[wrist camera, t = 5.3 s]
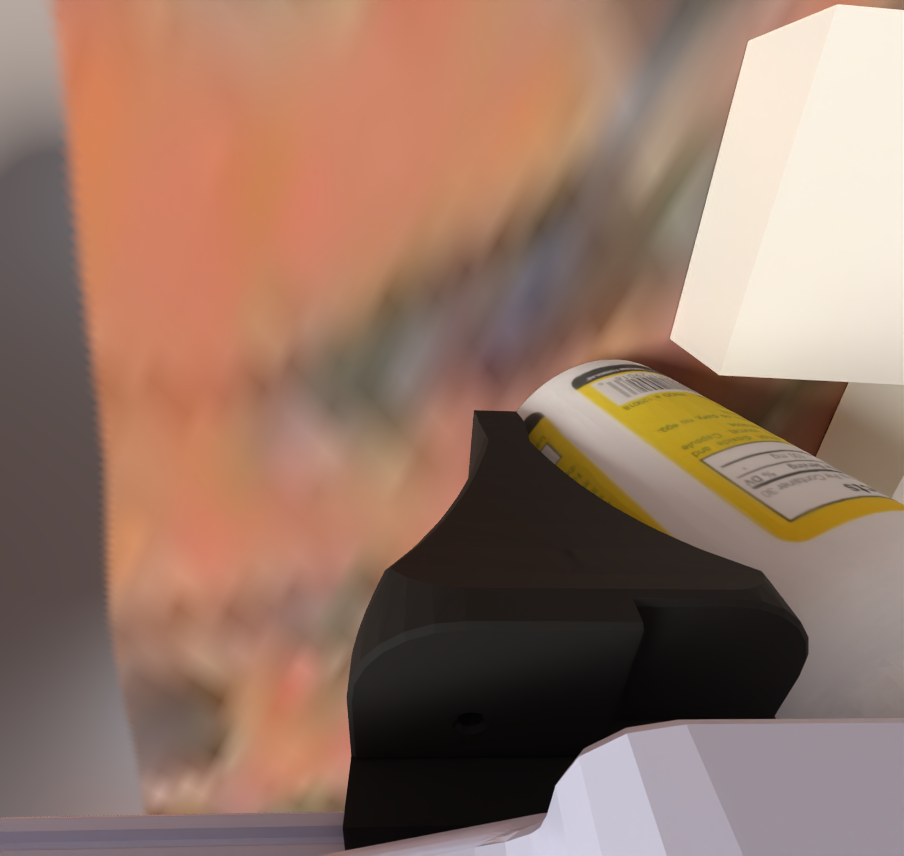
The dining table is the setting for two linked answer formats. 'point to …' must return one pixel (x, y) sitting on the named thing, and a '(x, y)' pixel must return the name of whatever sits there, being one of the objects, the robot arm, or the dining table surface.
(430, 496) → the dining table surface
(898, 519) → the supplement bottle
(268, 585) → the dining table surface
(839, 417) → the socket dock
